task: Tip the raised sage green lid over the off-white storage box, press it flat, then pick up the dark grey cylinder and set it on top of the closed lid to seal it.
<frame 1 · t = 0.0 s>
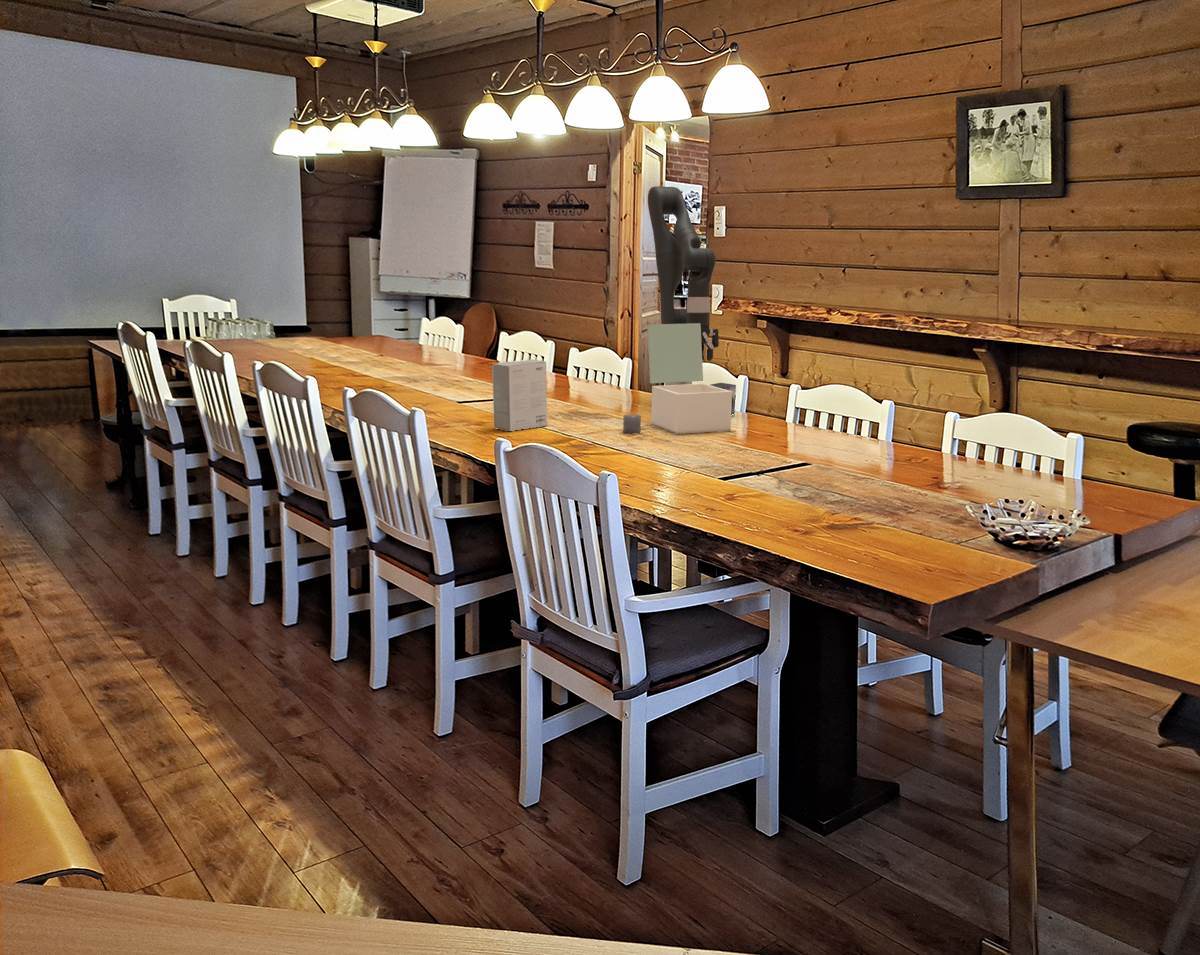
hand: (697, 361, 347), 17 cm above the table, tool pointing down, fingers open, 8 cm apart
hard drive box: (520, 428, 322), on the table
small box: (718, 417, 345), on the table
lid: (675, 353, 330), point 22 cm above the table, hinge at 100.0°
storage box: (690, 427, 325), on the table
dark grey cylinder: (631, 432, 316), on the table
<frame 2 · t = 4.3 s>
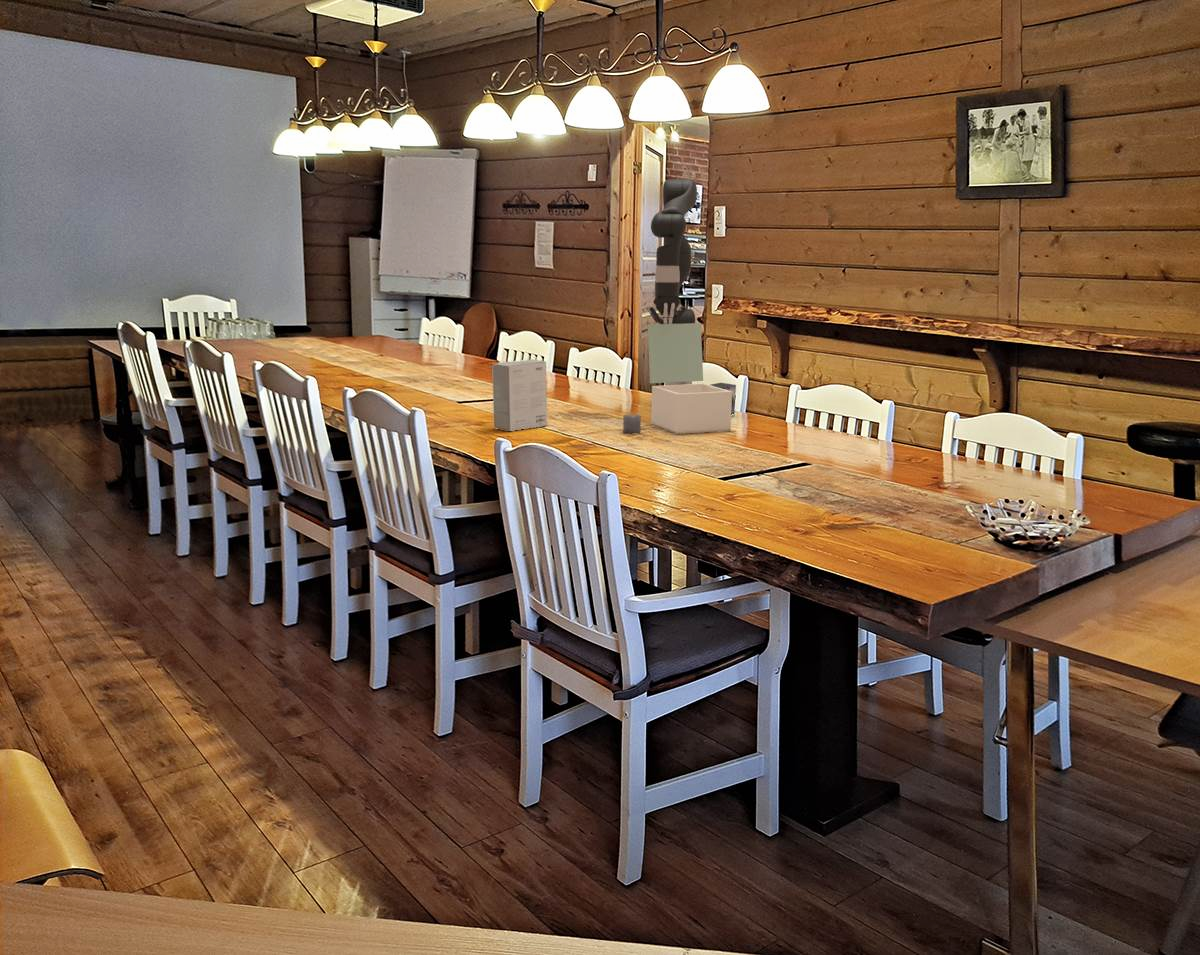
hand: (665, 337, 331), 26 cm above the table, tool pointing down, fingers closed
lid: (675, 353, 330), point 22 cm above the table, hinge at 99.1°, touching gripper
everything else where it was.
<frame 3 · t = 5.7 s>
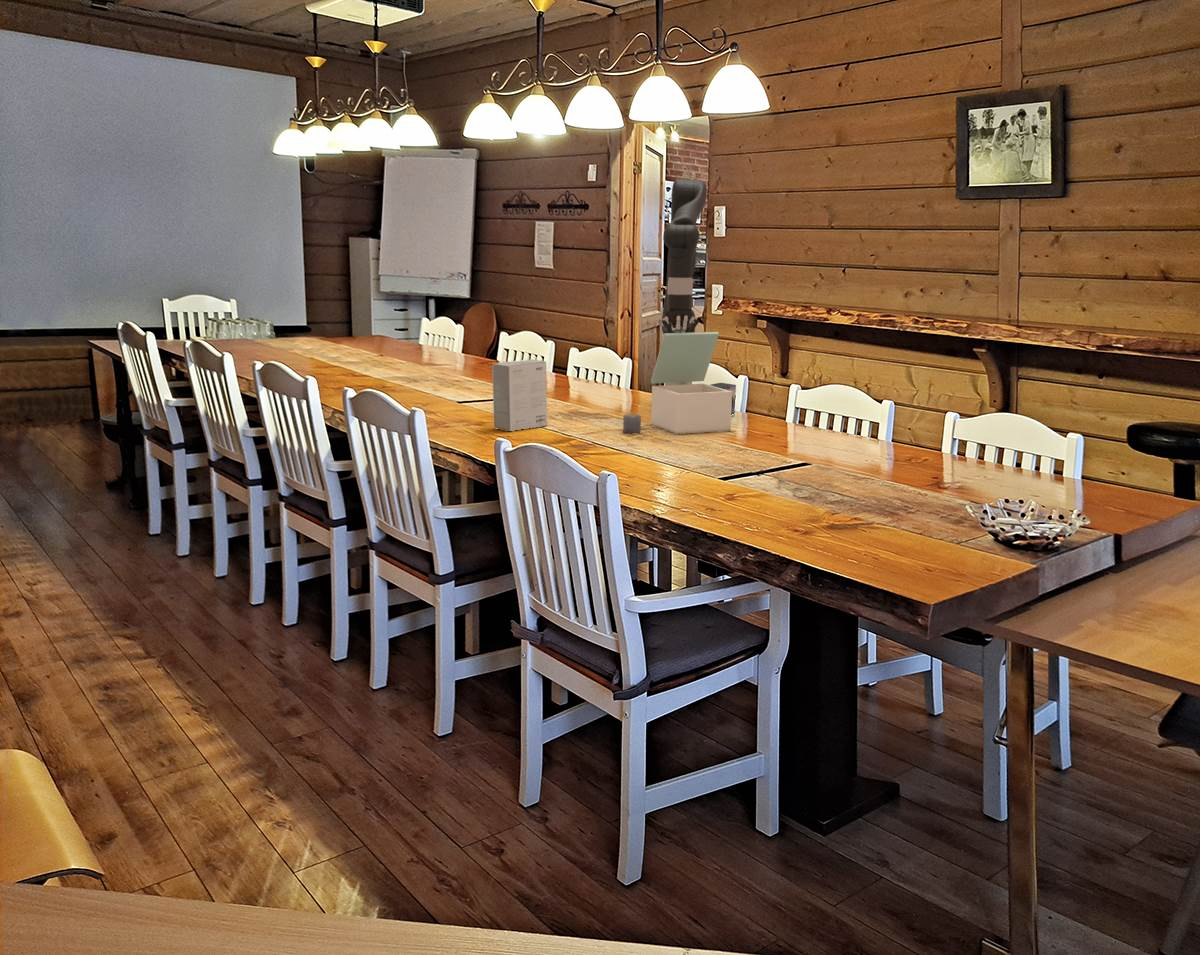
hand: (678, 350, 323), 23 cm above the table, tool pointing down, fingers closed
lid: (684, 357, 325), point 21 cm above the table, hinge at 60.2°, touching gripper
everything else where it was.
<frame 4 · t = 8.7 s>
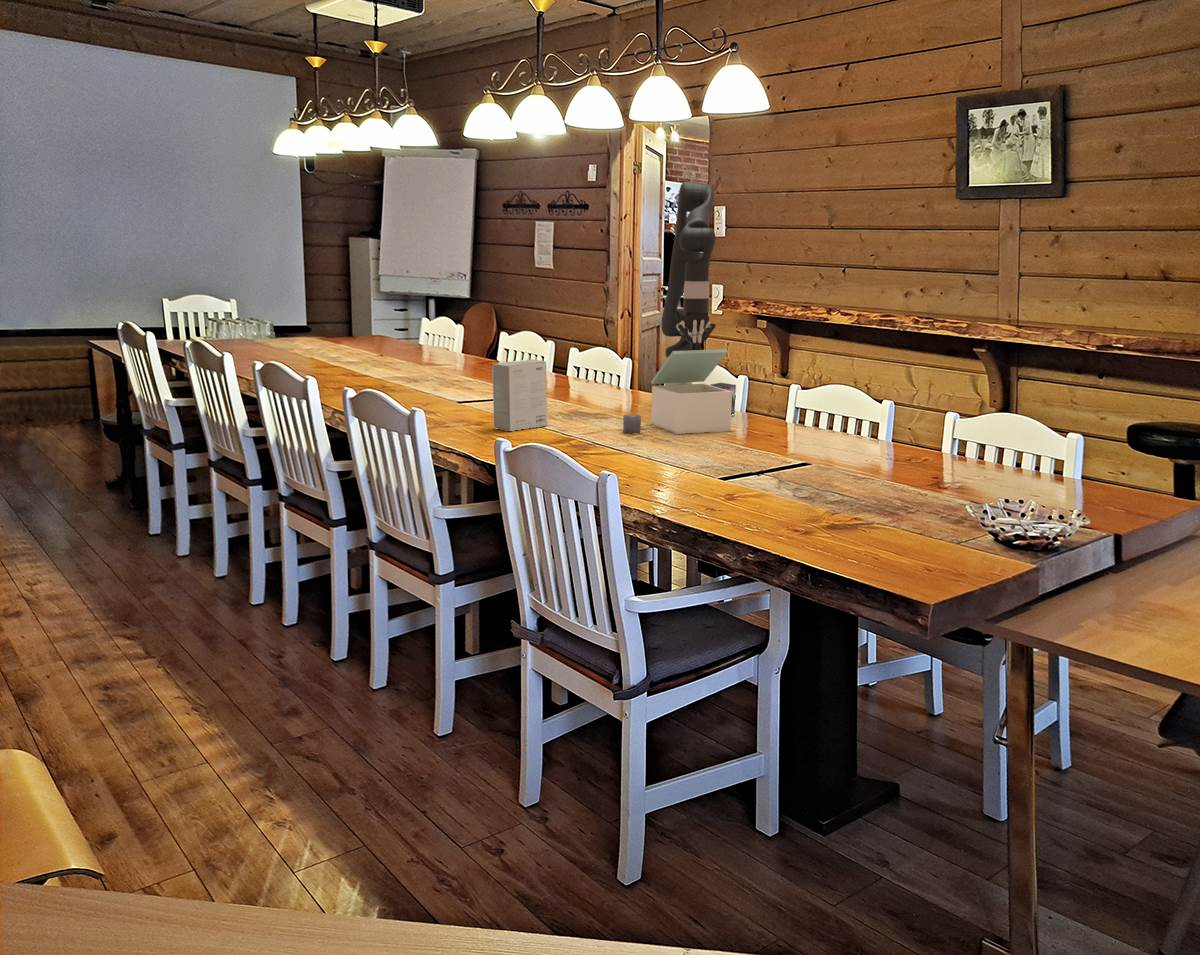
hand: (694, 355, 318), 22 cm above the table, tool pointing down, fingers closed
lid: (688, 366, 322), point 18 cm above the table, hinge at 36.8°, touching gripper
everything else where it was.
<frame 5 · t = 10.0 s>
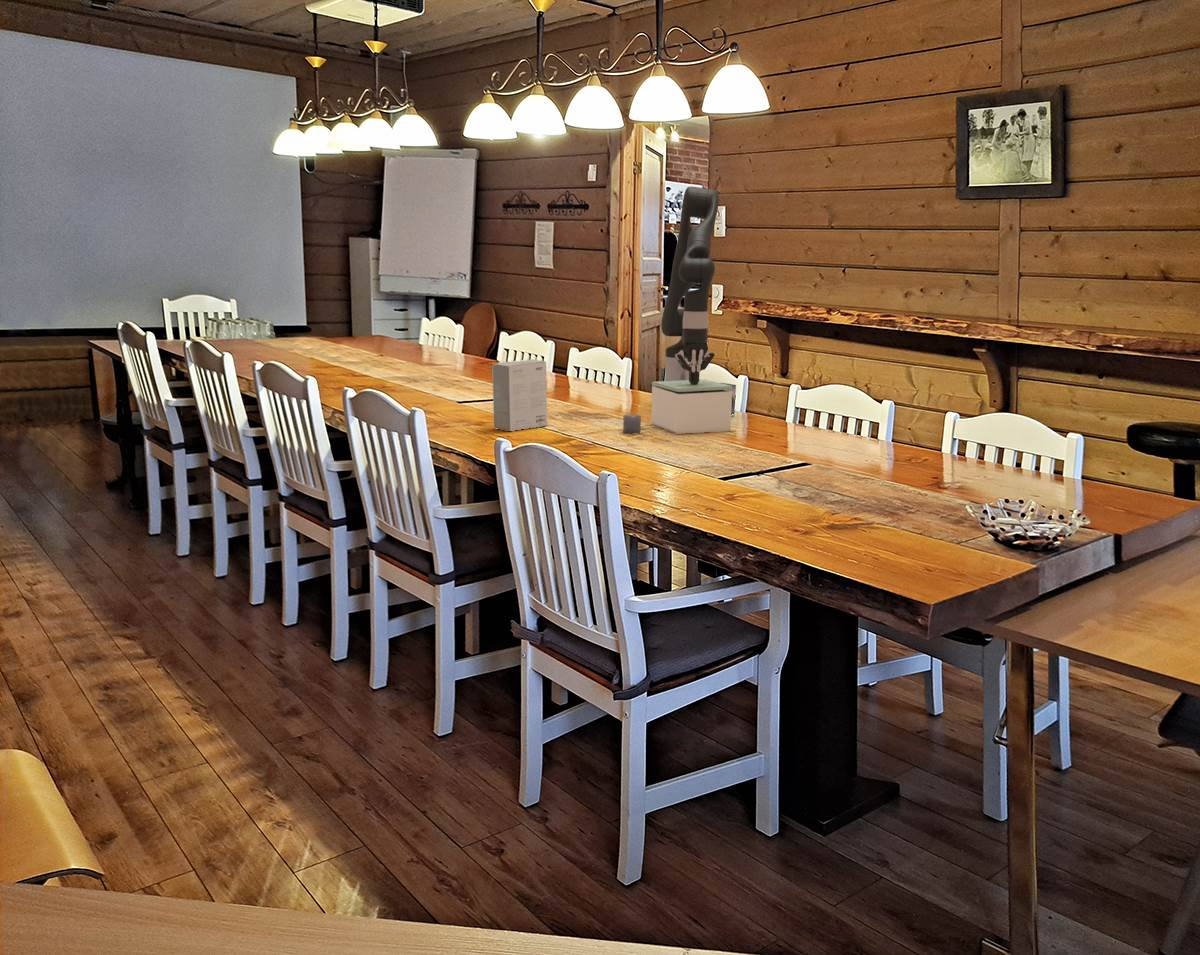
hand: (693, 384, 320), 14 cm above the table, tool pointing down, fingers closed
lid: (691, 385, 322), point 13 cm above the table, hinge at 1.2°, touching gripper
everything else where it was.
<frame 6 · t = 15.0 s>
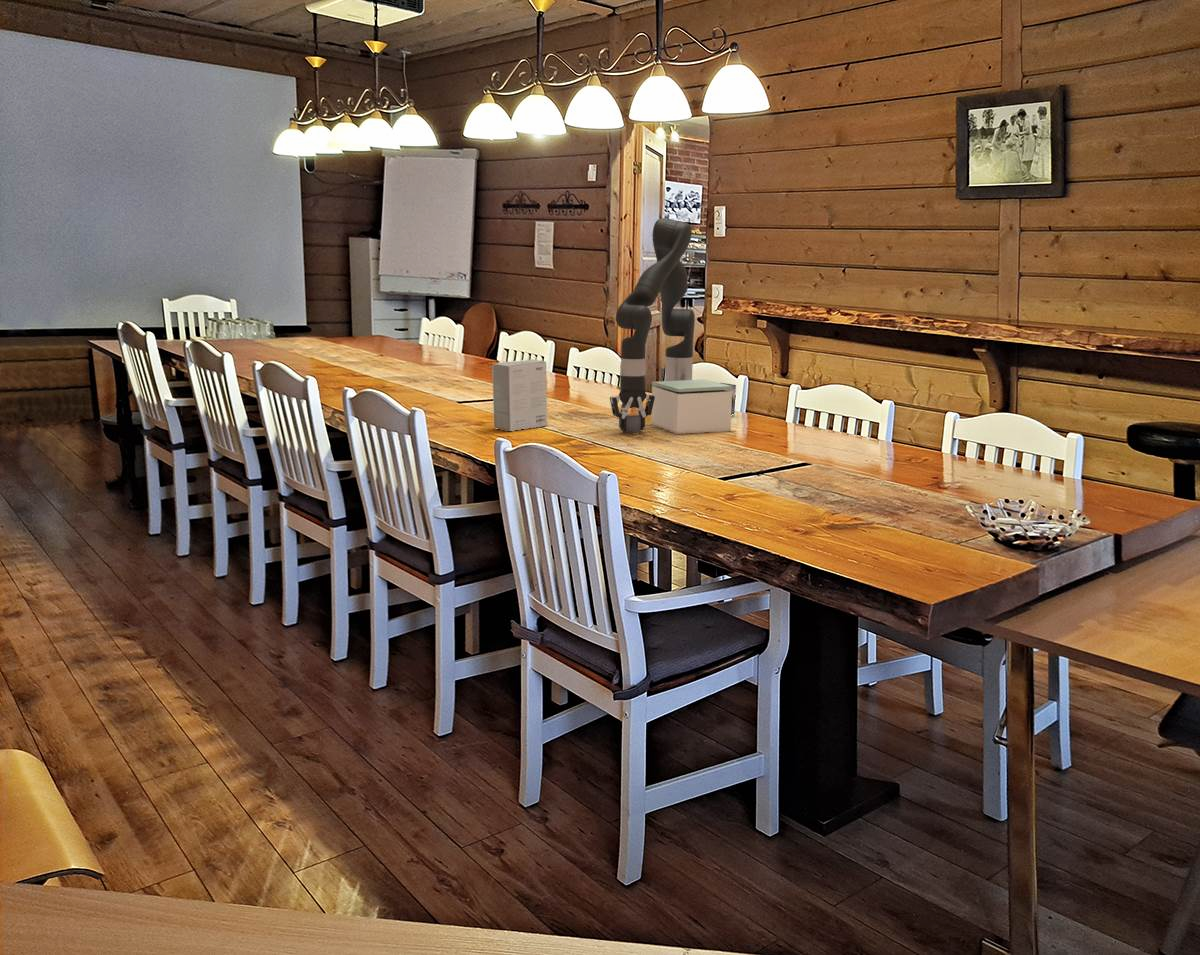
hand: (631, 429, 316), 1 cm above the table, tool pointing down, fingers closed on dark grey cylinder, 5 cm apart
lid: (691, 385, 322), point 13 cm above the table, hinge at 1.0°
dark grey cylinder: (631, 432, 316), on the table, touching gripper
everything else where it was.
when the fingers open (15 cm above the table, at t = 22.1 s): dark grey cylinder drops 1 cm, resting on lid.
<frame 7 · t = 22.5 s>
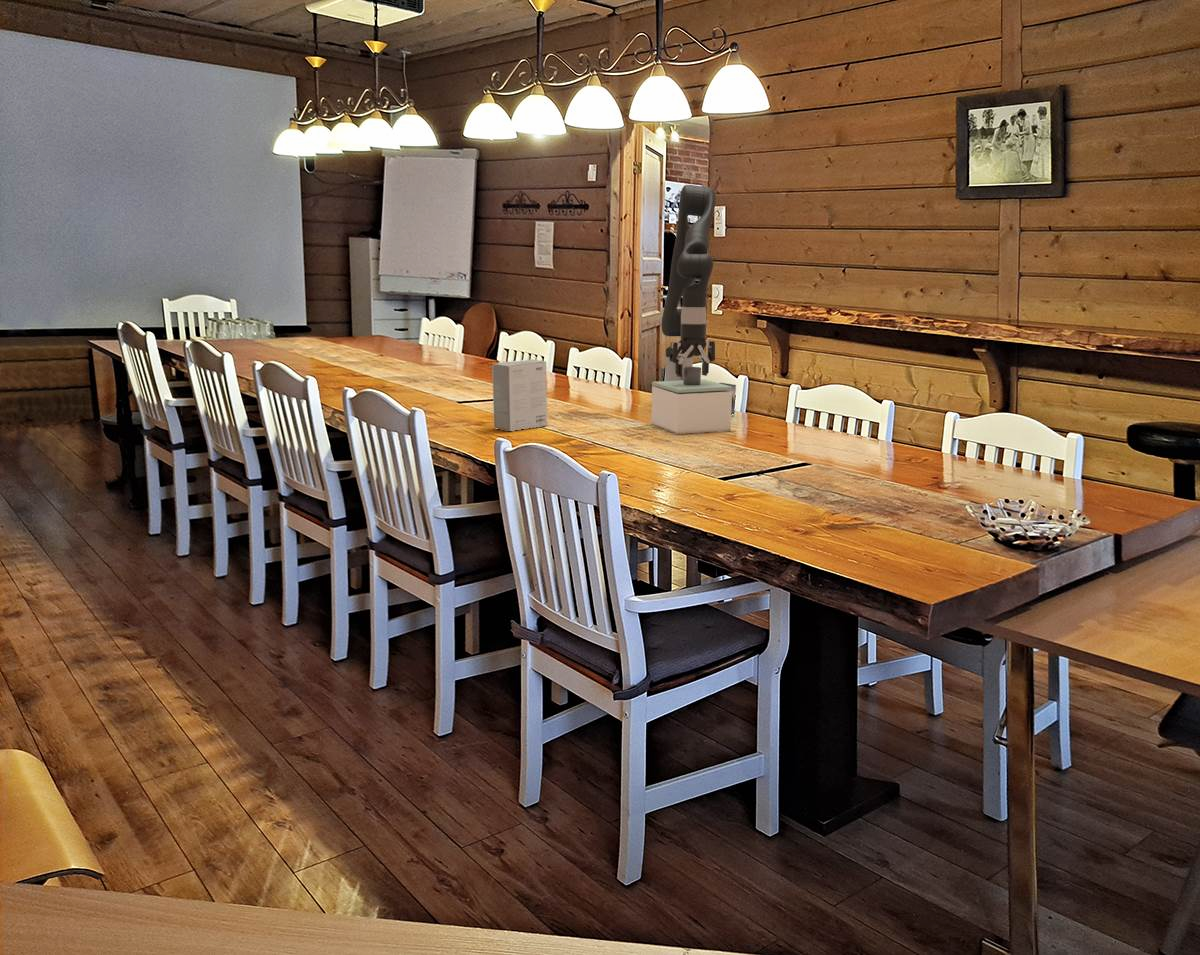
hand: (691, 376, 321), 16 cm above the table, tool pointing down, fingers open, 8 cm apart
lid: (691, 385, 322), point 13 cm above the table, hinge at 0.4°, touching dark grey cylinder
dark grey cylinder: (691, 384, 322), point 13 cm above the table, touching lid
everything else where it was.
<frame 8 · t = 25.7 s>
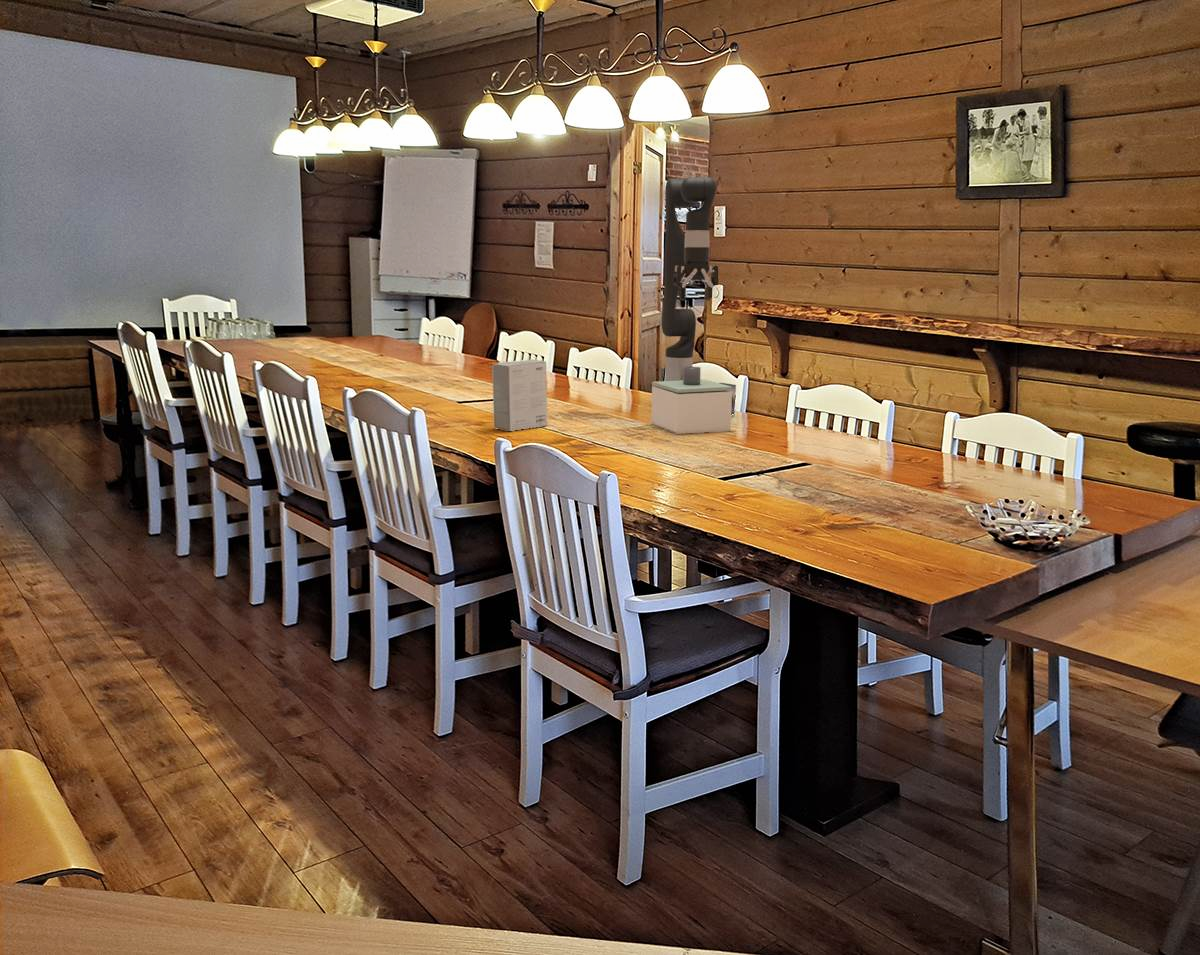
hand: (695, 300, 324), 38 cm above the table, tool pointing down, fingers open, 8 cm apart
nothing on the table moved.
at the end: lid at +0° (first picture: +100°); dark grey cylinder inside the target area on the storage box (0.1 cm from its centre), point 13.4 cm above the storage box's base; dark grey cylinder tilted 2° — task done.
